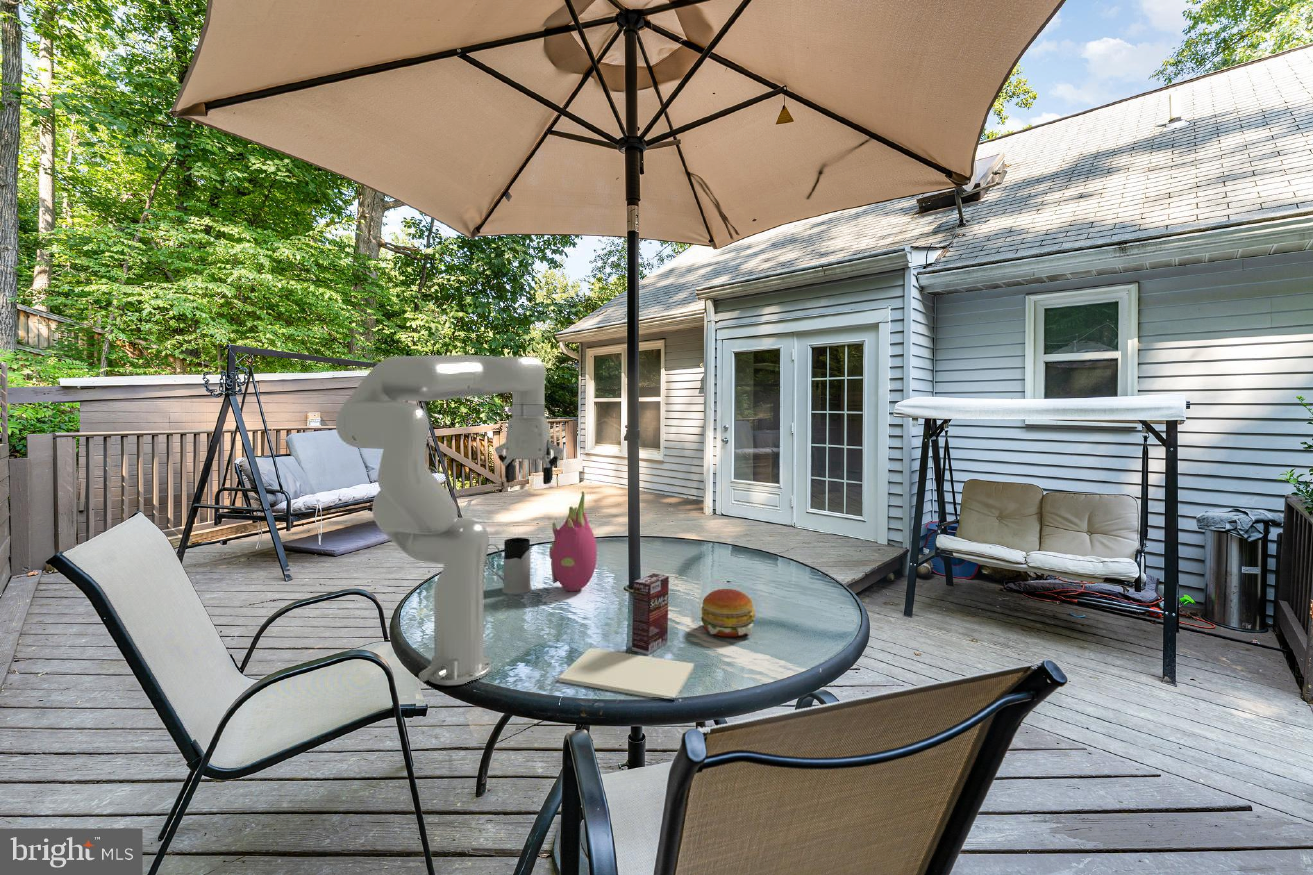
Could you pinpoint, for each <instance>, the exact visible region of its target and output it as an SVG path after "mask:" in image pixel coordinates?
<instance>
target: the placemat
mask: <svg viewBox="0 0 1313 875" xmlns="http://www.w3.org/2000/svg"><path fill="white" fill-rule="evenodd" d="M694 668H695V663H693V662H685V661H680V660H679V661H678V660H672V659H665V658H658V657H652V656H647V655H638V654H632V653H627V652H626V653H625V652H619V651H613V650H606V649H605V650H604V649H598V648H592V647H590V648H588V649H587V650H586V651H585V652H584V653H583V654H582V655H581V656H579V657H578V659H576V660H575V661H574V662H573V663H572V664H571V665H570V666H569V667H568V668H566V670H564V672H562V673H561V674H560V675H559V676H558V677H557V678H558V679H557V680H558V682H561V683H566V684H573V685H578V686H584V687H589V688H596V689H600V690H601V689H602V690H606V691H613V692H619V693H624V694H631V695H636V696H641V697H648V698H652V697H670V698H675V697H676V696H677V695H678V696H679V694H680V693H681V691H682V689H683V688H684V685H685V684H686V682H687V681H688V679H689V677H690V675H691V673H692V672H693V670H694ZM680 690H681V691H680ZM679 692H680V693H679ZM678 696H677V697H678Z"/></svg>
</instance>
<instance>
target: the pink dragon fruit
mask: <svg viewBox="0 0 1313 875" xmlns="http://www.w3.org/2000/svg"><path fill="white" fill-rule="evenodd" d="M585 496H586V495H585V492H584V491H583V490H582V491H581V497H580V500H579V503H578V506H577V507H576V506H575V507H573V506H572V505H571V506H569V508H568V515H567V517H566V519H565V521H564V523H563V524H562V525H561V526H560V527H559V528H557V524H556V522H554V521H553V522H552V526H551V529H552V533H553V537H554V541H551V546H549V558H550V566H551V568H550V569H551V578H552V584H556V583H559V584H560V585H561V586H562V588H564V589H565V590H567V591H570V592H577V591H580V590H582V589H583V588H585V587H586V586H587V585H588V584H589V582H590V580H592V577H593V575H594V573H595V570H596V566H597V560H598V559H597V558H598V557H597V556H598V550H597V549H598V548H597V541H596V537H595V533H594V532H593V530H592V528H591V526H590V524H589V519H588V518H587V514H586V509H585V498H586V497H585Z"/></svg>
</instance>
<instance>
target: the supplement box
mask: <svg viewBox="0 0 1313 875" xmlns="http://www.w3.org/2000/svg"><path fill="white" fill-rule="evenodd" d="M669 581H670V576H668V575H664V574H660V573H654V572H653V573H651V574H650V575H647V576H644V577H642V578H639V579H637V580H634V581H633V588H632V592H633V594H632V627H631V628H632V630H631V631H632V633H631V634H632V635H631V636H632V637H631V651H633V652H636V653H639V654H643V655H645V656H648V655H650V654H651V653H653V652H655V651H656V650H658V649H659V648H662V647H663V646H664V645H666V644H668V638H669V636H668V632H669V631H668V630H669V624H668V623H669V584H670V583H669Z"/></svg>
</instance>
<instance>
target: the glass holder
mask: <svg viewBox="0 0 1313 875" xmlns="http://www.w3.org/2000/svg"><path fill="white" fill-rule="evenodd" d="M503 545H504V546H503V548H504V550H503V551H504V553H503V556H504V557H503V556H501V554H500V549H499V546H498V545H496V544H495V543H491V544H490V543H489V545H488V547H490V546H494V547H495V548H496V549H497V554H498V555H497V556H498V558H499V559H502V560H503V577H502V576H501V575H500V574H499V573H498V572H497V571H495V570H494V569H493V567H491V565H490V563H489V561H488V558H487V556H486V561H485V564H486V565H487V566H488V569H490V571H491V572H492V573H493V574H494V575H496V576H497V577H498V578H499V579H500V580H501V581H502V584H503V587H502V588H501V590H502V593H504V594H507V595H520V594H526V593H529V592H530V591H532V588H533V587H532V586H531V539H529V538H527V537H512V538H508V539H505V540H504V543H503Z"/></svg>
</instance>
